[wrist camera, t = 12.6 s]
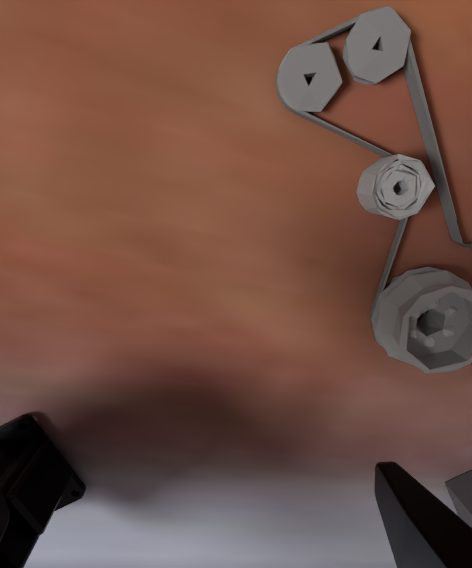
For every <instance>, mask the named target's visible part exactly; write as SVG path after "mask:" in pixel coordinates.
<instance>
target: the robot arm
mask: <svg viewBox="0 0 472 568" xmlns="http://www.w3.org/2000/svg"><path fill="white" fill-rule="evenodd" d="M22 423H25V424H26V425H27V426H24V425H23V424H22ZM75 490H78V491H75ZM85 490H86V487H85V485H84V483H83V482H82V481H81V479H80V478H79V477H78V476H77V474H76V473H75V472H74V470H73V469H72V468H71V467H70V465H69V464H68V463H67V461H66V460H65V459H64V458H63V456H62V455H61V454H60V452H59V451H58V450H57V448H56V447H55V446H54V445H53V443H52V442H51V441H50V439H49V438H48V437H47V436H46V434H45V433H44V432H43V430H42V429H41V428H40V427H39V425H38V424H37V423H36V421H35V420H34V419H33V418H32V417H31V416H28V415H22V416H20V417H18V418H16V419H14V420H12V421H10V422H8V423H6V424H4V425H2V426H0V568H23V567H24V565H25V563H26V561H27V559H28V558H29V556H30V554H31V552H32V550H33V548H34V546H35V544H36V542H37V540H38V538H39V536H40V535H41V534H42V533H43V532H44V531H45V529H46V527H47V525H48V523H49V521H50V519H51V517H52V515H53V513H54V511H56V510H58V509H60V508H62V507H64V506H66V505H68V504H70V503H72V502H75V501H77V500H79V499H80V498H82V497H83V495H84V492H85ZM375 496H376V501H377V504H378V507H379V510H380V514H381V517H382V520H383V523H384V526H385V530H386V533H387V536H388V539H389V543H390V546H391V549H392V552H393V555H394V559H395V562H396V565H397V568H472V528H471V527H470V526H469V525H468V524H467V523H466V522H464V521H463V520H462V519H461V518H460V517H459V516H457V515H456V514H455V513H454V512H453V511H452V510H450V509H449V508H448V507H447V506H446V505H445V504H443V503H442V502H441V501H440V500H439V499H438V498H437V497H435V496H434V495H433V494H432V493H431V492H430V491H428V490H427V489H426V488H425V487H424V486H423V485H421V484H420V483H419V482H418V481H417V480H416V479H414V478H413V477H412V476H411V475H410V474H409V473H407V472H406V471H405V470H404V469H403V468H402V467H400V466H399V465H398V464H397V463H395V462H379V463H377V464H376V467H375Z"/></svg>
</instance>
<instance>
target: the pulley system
mask: <svg viewBox="0 0 472 568" xmlns="http://www.w3.org/2000/svg"><path fill="white" fill-rule="evenodd" d="M352 27H353V28H352ZM350 28H352V29H351V30H350V32H349V34H348V35H347V38H346V42H345V46H344V50H343V55H342V57H343V59H344V62H345V64H346V66H347V68H348V69H349V71H350V73H351V75H352V77H353V79H354V81H355V82H359V83H362V84H366V85H375V84H376V83H378V82H380V81H381V80H383V79H384V78H386V77H387V76H389V75H390V74H392V73H393V72H395V71H396V70H398V69H400V68H401V67H403V70H404V73H405V77H406V80H407V84H408V87H409V91H410V95H411V98H412V102H413V105H414V109H415V112H416V116H417V119H418V123H419V127H420V130H421V134H422V137H423V141H424V144H425V148H426V152H427V155H428V159H429V162H430V166H431V169H432V173H433V176H434V180H435V184H436V187H437V191H438V194H439V198H440V201H441V205H442V208H443V212H444V215H445V219H446V222H447V226H448V229H449V233H450V236H451V240H453V241H455V242H457V243H459V244H460V245H462V246H464V247H471V248H472V243H468V244H463V241H462V237H461V233H460V229H459V225H458V222H457V218H456V214H455V210H454V206H453V202H452V198H451V194H450V191H449V187H448V183H447V179H446V175H445V171H444V167H443V164H442V160H441V156H440V152H439V148H438V144H437V140H436V136H435V133H434V129H433V125H432V121H431V117H430V113H429V109H428V105H427V102H426V98H425V94H424V90H423V86H422V82H421V78H420V75H419V71H418V67H417V63H416V59H415V55H414V51H413V47H412V44H411V40H410V34H411V30H410V28H409V27H408V26H407V25H406V23H405V22H404V21H403V20H402V19H401V18H400V16H399V15H398V14H397V13H396V12H395V11H394V10H393V9H392V8H391V6H387V7H382V8H377V9H372V10H369V11H367V12H364V13H362V14H361V15H359V16H357V17H355V18H353V19H351V20H349V21H347V22H345V23H343V24H341V25H339V26H337V27H335V28H332V29H330V30H328V31H326V32H324V33H322V34H320V35H318V36H316V37H314V38H312V39H310V40H308V41H306V42H304V43H302V44H300V45H298V46H296V47H293V48H291V49H290V50H289V52H288V53H287V54H286V56H285V57H284V59H283V60H282V62H281V64H280V67H279V69H278V73H277V78H276V89H277V93H278V95H279V99H280V100H281V102H282V104H283V105H284V106H285V107H286V108H287V109H288V110H290V111H291V112H293V113H294V114H296V115H298V116H300V117H303V118H305V119H307V120H309V121H311V122H313V123H315V124H318V125H320V126H322V127H324V128H326V129H328V130H330V131H332V132H334V133H336V134H338V135H340V136H342V137H344V138H346V139H348V140H351V141H353V142H355V143H357V144H359V145H361V146H363V147H365V148H367V149H369V150H371V151H373V152H375V153H377V154H379V155H381V156H383V157H384V158H381V159H379V160H378V161H376V162H375V163H373V164H372V165H370V166H369V167H368V168H366V169H365V170H364V171H363V173H362V175H361V177H360V180H359V185H358V188H357V192H356V193H357V195H358V199H359V201H360V203H361V204H362V206H363V207H364V209H365V210H366V211H368V212H370V213H372V214H379V215H383V216H386V217H390V218H394V219H397V220H400V221H399V225H398V228H397V231H396V234H395V237H394V240H393V243H392V246H391V249H390V252H389V256H388V259H387V262H386V265H385V268H384V271H383V274H382V277H381V280H380V284H379V287H378V290H377V293H376V296H375V299H374V302H373V305H372V308H371V311H370V315H371V324H372V328H373V332H374V336H375V339H376V341H377V343H378V344H379V345H380V346H382V347H383V348H384V349H385V350H386V352H387V354H388V356H389V357H392V358H394V359H397V360H400V361H403V362H406V363H408V364H411V365H414V366H417V367H418V368H419V369H421V370H422V371H423V372H425V373H426V374H430V373H441V372H452V371H456V370H458V369H460V368H462V367H464V366H466V365H468V364H470V363H472V288H471V286H470V285H469V283H468V282H467V281H465V280H463V279H461V278H459V277H457V276H456V275H454V274H453V273H452V272H450V271H447V270H440V269H436V268H431V267H424V268H419V269H414V270H409V271H406V272H405V273H404V274H403V275H400V276H397V277H394V278H393V279H392V281H391V282H390V284H389V286H388V287H387V288H386V289H385V290H384V287H385V285H386V282H387V279H388V276H389V273H390V270H391V267H392V264H393V261H394V258H395V255H396V252H397V249H398V247H399V244H400V241H401V238H402V235H403V232H404V229H405V226H406V223H407V220H408V217H409V216H412V215H414V214H417V213H418V212H419V210H420V209H421V207H422V206H423V204H424V203H425V202H426V200H427V198H428V196H429V195H430V193H431V192H432V190H433V189H434V187H435V185H434V183H433V181H432V179H431V177H430V175H429V173H428V171H427V170H426V168H425V165H424V163H422V162H421V160H418V159H414V158H411V157H407V156H404V155H401V154H396V155H392V154H390V153H388V152H386V151H384V150H382V149H380V148H378V147H376V146H374V145H372V144H370V143H368V142H365V141H363V140H361V139H359V138H357V137H355V136H353V135H351V134H349V133H347V132H345V131H343V130H341V129H339V128H337V127H335V126H333V125H331V124H329V123H327V122H325V121H323V120H321V119H319V118H317V117H315V116H312V115H310V114H308V113H306V112H321V111H322V109H323V108H324V107H325V106H326V105H327V103H328V102H329V101H330V100H331V98H332V97H333V96H334V95H335V93H336V92H337V90H338V89H339V87H340V85H341V84H342V79H341V75H340V72H339V69H338V66H337V63H336V59H335V56H334V54H333V52H332V50H331V48H330V46H329V44H328V42H326V43H319V42H321V41H323V40H325V39H328V38H330V37H332V36H334V35H336V34H339V33H341V32H343V31H345V30H347V29H350ZM372 48H374V49H376V50H373V49H372ZM308 77H312V79H311V82H310V84H309V86H308V84H307V82H306V79H305V78H308ZM383 290H384V291H383ZM426 311H428V313H427V314H426V315H425V316H424V317H423V318H422V319H421V320H420V321H419V322H418V323H417V318H418V317H420V314H422V313H424V312H426Z"/></svg>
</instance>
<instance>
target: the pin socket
mask: <svg viewBox="0 0 472 568" xmlns="http://www.w3.org/2000/svg"><path fill="white" fill-rule="evenodd" d="M445 484H446V486H447V489H448V491H449V493H450V496H451V498H452V501H453V503H454V505H455V508H456V510H457V512H458V515H459V517H460V518H461V519H462V520H463V521H464V522H466V523H467V524H468V525H469V526H470V527H471V528H472V470H471V471H469V472H467V473H464V474H462V475H460V476H458V477H456V478H454V479H452V480H449V481H447V482H445Z"/></svg>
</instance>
